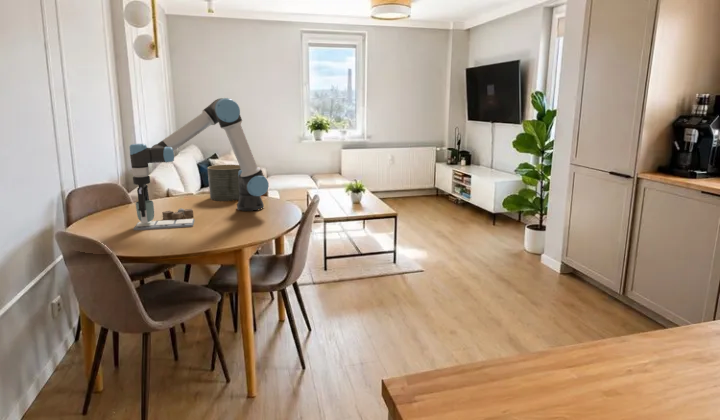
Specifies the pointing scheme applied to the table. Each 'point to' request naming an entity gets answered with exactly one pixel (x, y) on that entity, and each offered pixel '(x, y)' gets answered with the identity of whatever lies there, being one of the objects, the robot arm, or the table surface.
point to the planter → (224, 182)
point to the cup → (148, 208)
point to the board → (164, 224)
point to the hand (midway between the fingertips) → (146, 220)
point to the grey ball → (181, 210)
